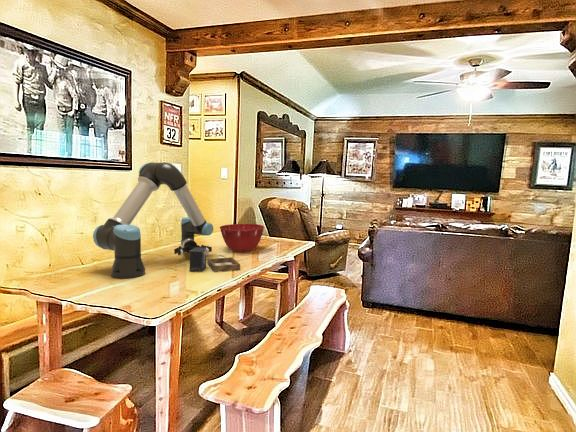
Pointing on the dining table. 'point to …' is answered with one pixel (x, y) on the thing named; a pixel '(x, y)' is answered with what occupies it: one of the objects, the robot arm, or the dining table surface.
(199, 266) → the small box
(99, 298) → the dining table surface
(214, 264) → the walnut tray
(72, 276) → the dining table surface
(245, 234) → the mixing bowl
